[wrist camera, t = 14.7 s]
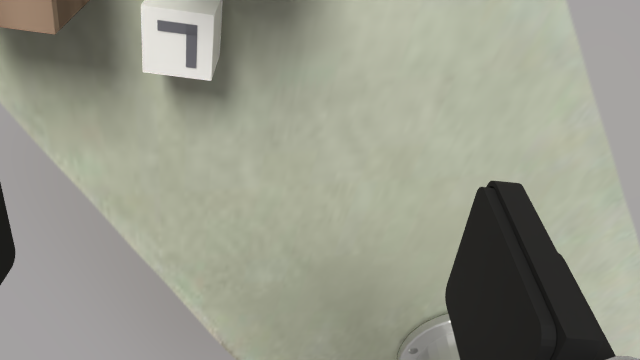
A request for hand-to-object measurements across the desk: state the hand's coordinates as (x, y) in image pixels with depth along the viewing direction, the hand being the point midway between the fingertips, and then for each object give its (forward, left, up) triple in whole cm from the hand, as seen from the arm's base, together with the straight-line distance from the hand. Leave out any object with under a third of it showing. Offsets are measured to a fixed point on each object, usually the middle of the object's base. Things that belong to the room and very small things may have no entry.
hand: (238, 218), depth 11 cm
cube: (+4, +7, -27) cm, 28 cm away
